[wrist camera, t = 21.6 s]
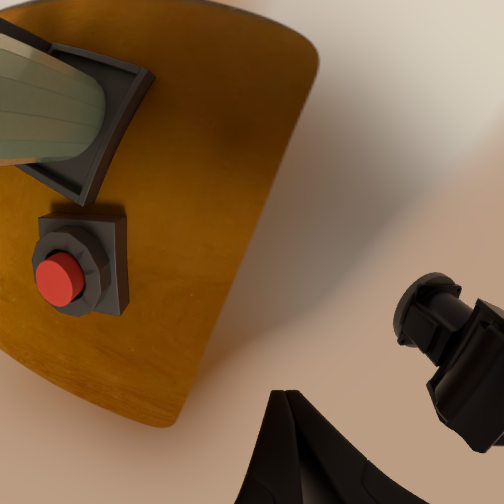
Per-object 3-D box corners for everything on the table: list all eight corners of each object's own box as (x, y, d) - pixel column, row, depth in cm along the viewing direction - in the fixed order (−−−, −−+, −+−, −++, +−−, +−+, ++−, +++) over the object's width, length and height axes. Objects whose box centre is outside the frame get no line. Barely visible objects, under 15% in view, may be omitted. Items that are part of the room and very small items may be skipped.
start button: (82, 254, 15) (69, 263, 14) (87, 298, 16) (75, 310, 15) (46, 249, 15) (32, 257, 13) (52, 292, 16) (40, 302, 14)
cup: (123, 96, 15) (9, 39, 4) (74, 176, 17) (-55, 204, 5) (68, 63, 14) (-35, 18, 2) (26, 136, 15) (-87, 140, 4)
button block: (126, 216, 18) (103, 228, 15) (129, 302, 20) (112, 329, 17) (53, 211, 18) (23, 222, 14) (61, 291, 20) (37, 312, 16)
